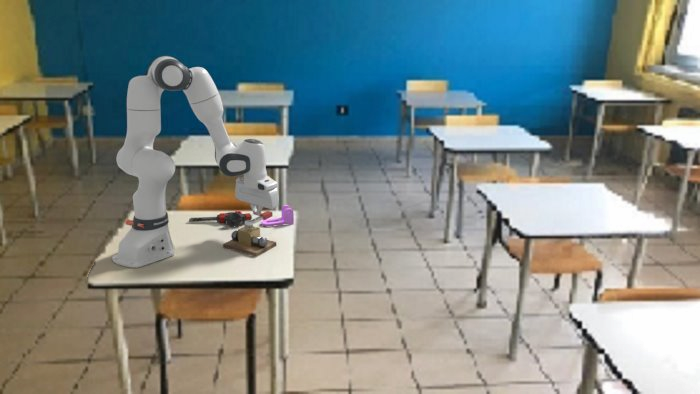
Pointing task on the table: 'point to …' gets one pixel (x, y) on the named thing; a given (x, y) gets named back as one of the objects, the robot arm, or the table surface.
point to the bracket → (285, 219)
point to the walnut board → (248, 248)
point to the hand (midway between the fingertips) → (257, 214)
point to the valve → (226, 218)
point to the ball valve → (249, 237)
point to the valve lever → (258, 219)
